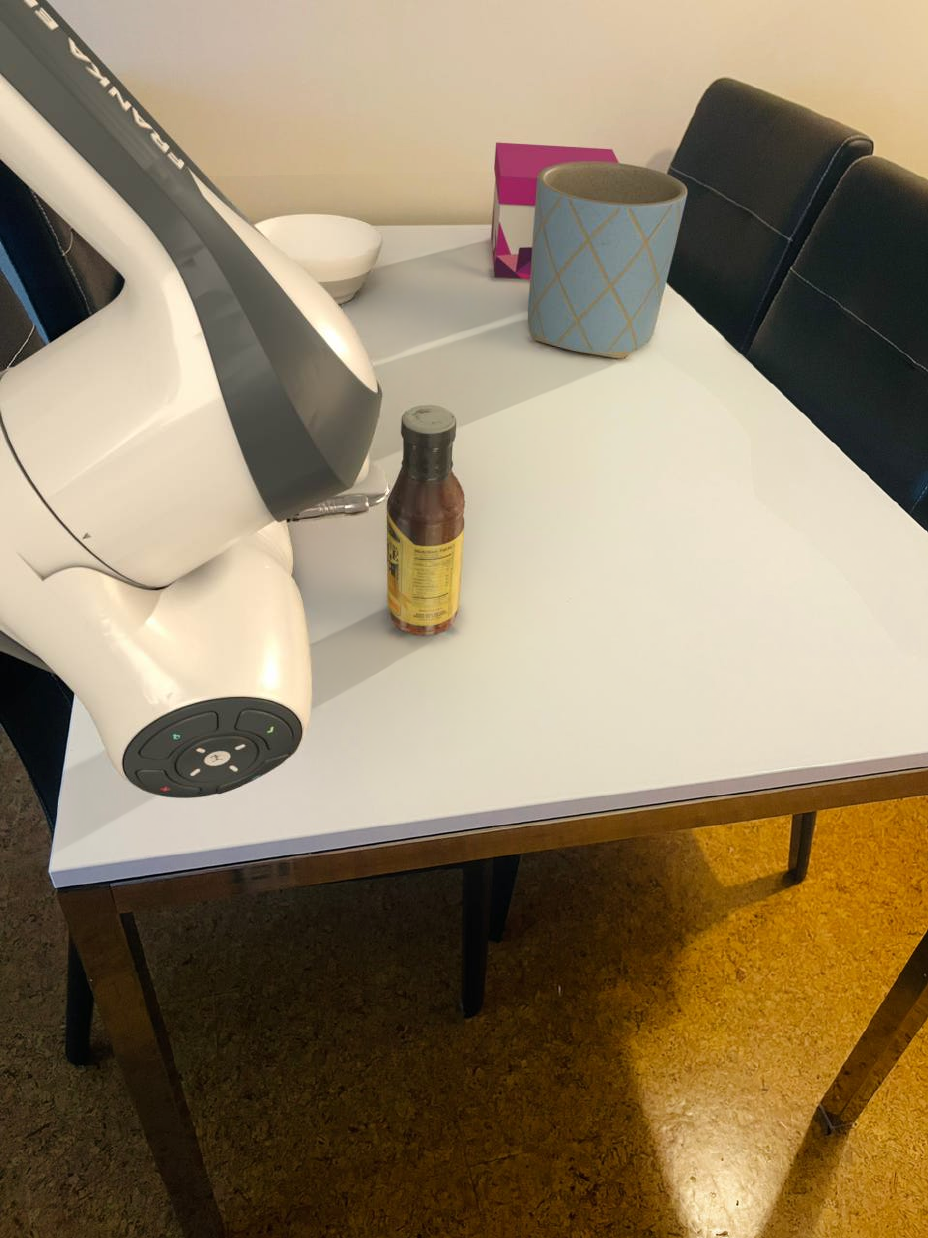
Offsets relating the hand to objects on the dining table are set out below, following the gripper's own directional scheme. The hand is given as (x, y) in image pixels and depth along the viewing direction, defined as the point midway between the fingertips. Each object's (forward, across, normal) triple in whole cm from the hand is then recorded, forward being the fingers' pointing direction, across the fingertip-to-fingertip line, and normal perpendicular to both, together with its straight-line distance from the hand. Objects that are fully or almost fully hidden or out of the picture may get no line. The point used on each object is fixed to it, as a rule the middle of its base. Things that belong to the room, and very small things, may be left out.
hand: (191, 401), depth 56 cm
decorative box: (+87, -57, +24) cm, 107 cm away
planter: (+59, -53, +24) cm, 83 cm away
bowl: (+78, -17, +24) cm, 83 cm away
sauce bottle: (+4, -16, +24) cm, 29 cm away
